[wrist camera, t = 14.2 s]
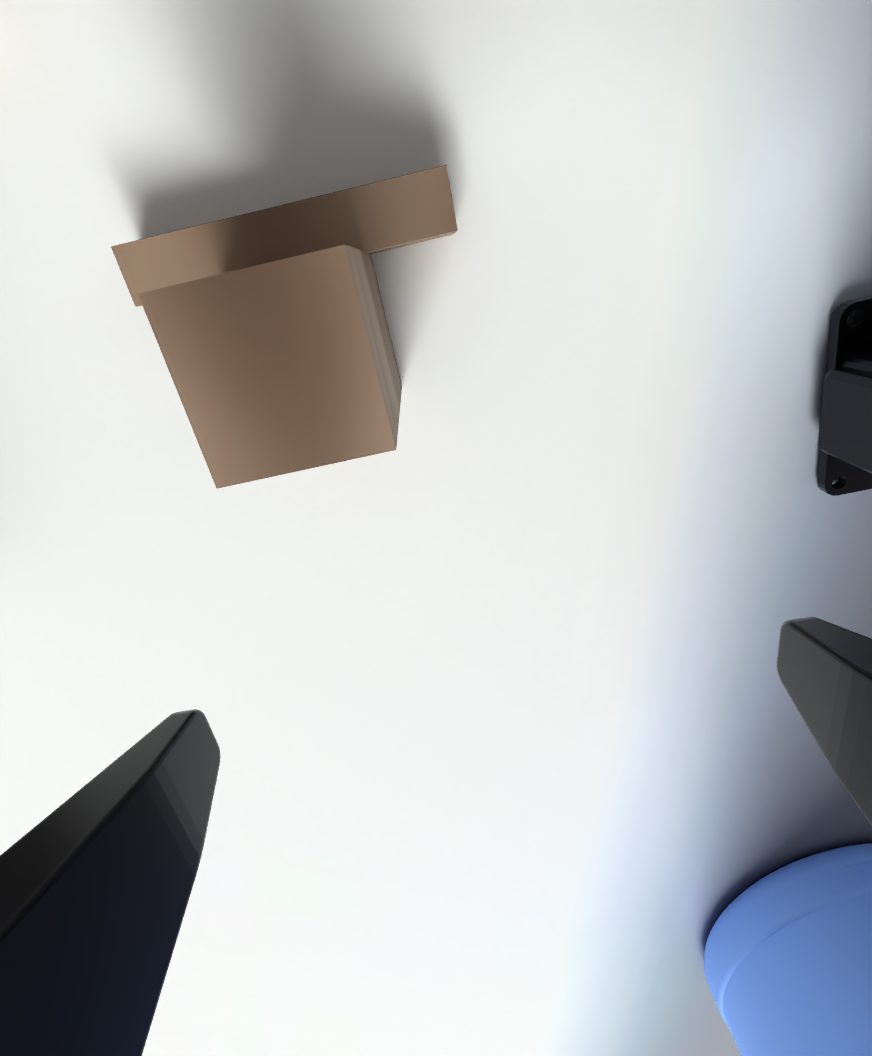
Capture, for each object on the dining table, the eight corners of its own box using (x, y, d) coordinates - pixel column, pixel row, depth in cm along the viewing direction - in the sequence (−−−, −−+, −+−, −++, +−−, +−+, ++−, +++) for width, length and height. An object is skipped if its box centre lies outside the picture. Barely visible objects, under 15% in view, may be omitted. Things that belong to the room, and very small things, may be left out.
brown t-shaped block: (442, 175, 16) (462, 113, 10) (477, 370, 18) (511, 424, 12) (141, 248, 16) (-31, 236, 10) (211, 429, 19) (107, 512, 12)
